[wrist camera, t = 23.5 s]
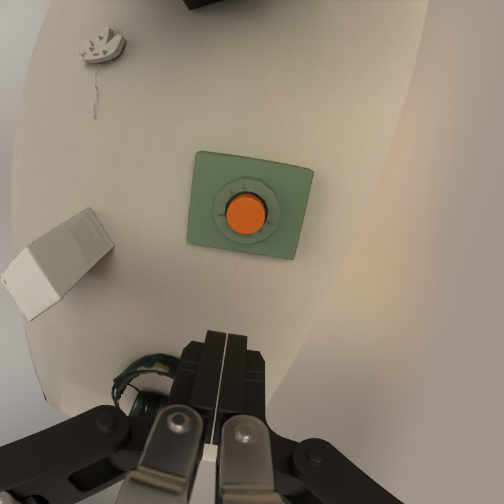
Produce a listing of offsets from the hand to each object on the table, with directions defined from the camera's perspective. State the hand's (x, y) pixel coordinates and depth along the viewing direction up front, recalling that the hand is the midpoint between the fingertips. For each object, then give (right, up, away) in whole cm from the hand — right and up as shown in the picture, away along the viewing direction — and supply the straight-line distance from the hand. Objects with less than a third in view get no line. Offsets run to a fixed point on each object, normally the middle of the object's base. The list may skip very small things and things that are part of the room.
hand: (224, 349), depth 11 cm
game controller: (-17, +25, +15) cm, 34 cm away
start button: (+1, +8, +18) cm, 19 cm away
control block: (+1, +9, +21) cm, 23 cm away
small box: (-21, +5, +24) cm, 32 cm away
